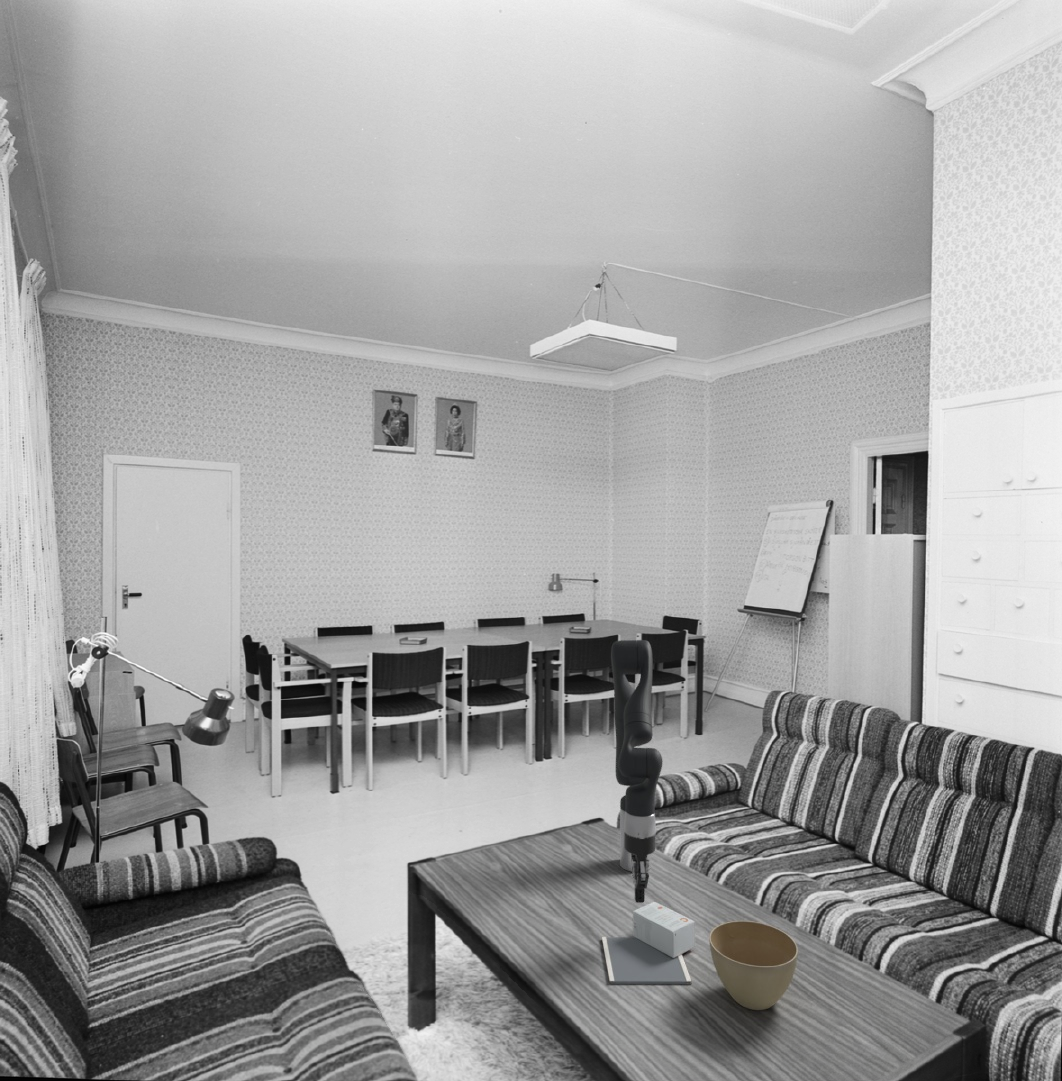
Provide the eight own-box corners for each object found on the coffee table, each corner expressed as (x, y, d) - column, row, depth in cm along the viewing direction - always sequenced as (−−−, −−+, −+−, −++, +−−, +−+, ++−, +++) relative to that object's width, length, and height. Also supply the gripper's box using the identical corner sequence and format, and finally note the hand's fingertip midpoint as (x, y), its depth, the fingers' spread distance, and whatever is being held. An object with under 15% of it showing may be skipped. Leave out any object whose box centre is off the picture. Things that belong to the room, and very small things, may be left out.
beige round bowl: (736, 964, 173) (736, 911, 173) (812, 999, 160) (812, 942, 160) (692, 997, 160) (693, 941, 160) (771, 1038, 148) (771, 977, 147)
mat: (601, 939, 183) (601, 936, 183) (675, 940, 183) (675, 937, 183) (609, 983, 165) (609, 980, 165) (691, 984, 165) (691, 981, 165)
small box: (632, 936, 184) (673, 959, 174) (632, 910, 184) (672, 931, 174) (654, 926, 189) (695, 947, 179) (654, 900, 189) (695, 920, 179)
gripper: (621, 819, 189) (620, 888, 189) (628, 841, 175) (627, 915, 176) (650, 819, 189) (650, 888, 189) (660, 841, 175) (659, 915, 176)
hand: (639, 901), depth 182 cm, fingers closed
